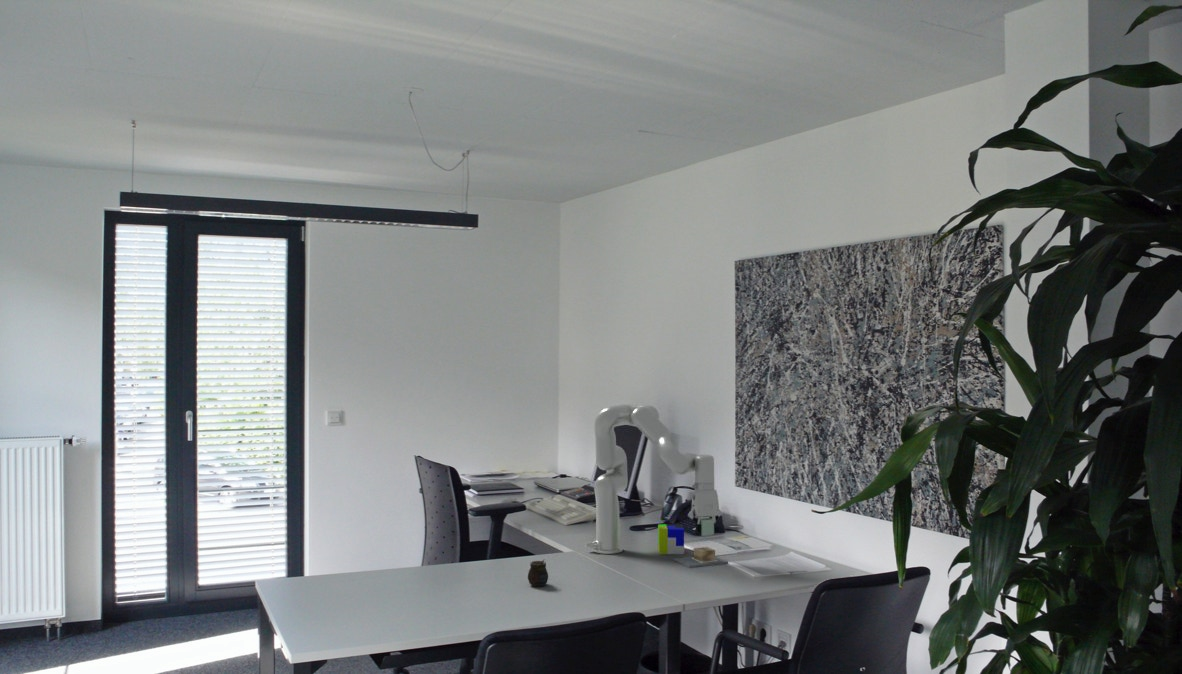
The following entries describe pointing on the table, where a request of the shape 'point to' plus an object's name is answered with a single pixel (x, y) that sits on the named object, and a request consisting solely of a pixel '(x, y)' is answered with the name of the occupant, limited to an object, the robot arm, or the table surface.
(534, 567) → the mate gourd
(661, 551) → the puzzle toy
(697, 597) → the table surface
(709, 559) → the oak base block
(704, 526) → the sage block
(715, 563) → the felt mat
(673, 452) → the robot arm
